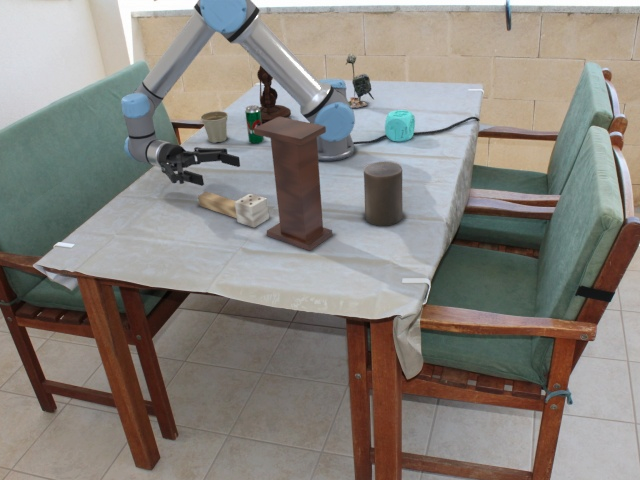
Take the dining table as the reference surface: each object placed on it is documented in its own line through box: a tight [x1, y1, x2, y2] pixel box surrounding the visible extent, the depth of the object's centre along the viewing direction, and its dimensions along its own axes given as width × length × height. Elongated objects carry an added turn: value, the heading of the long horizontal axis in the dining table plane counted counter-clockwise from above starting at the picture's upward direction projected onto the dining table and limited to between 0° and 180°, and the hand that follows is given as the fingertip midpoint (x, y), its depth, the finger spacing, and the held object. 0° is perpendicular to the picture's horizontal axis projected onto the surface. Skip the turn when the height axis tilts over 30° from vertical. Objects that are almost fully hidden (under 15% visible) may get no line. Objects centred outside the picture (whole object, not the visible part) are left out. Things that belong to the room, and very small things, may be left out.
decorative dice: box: [384, 109, 416, 142], centre depth 212 cm, size 8×8×8 cm
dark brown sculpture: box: [256, 64, 292, 123], centre depth 233 cm, size 15×15×20 cm
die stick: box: [197, 191, 270, 229], centre depth 174 cm, size 22×6×6 cm, turn 52°
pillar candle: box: [363, 161, 404, 227], centre depth 164 cm, size 10×10×15 cm
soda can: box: [244, 104, 265, 145], centre depth 216 cm, size 5×5×12 cm
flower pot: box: [199, 110, 229, 144], centre depth 221 cm, size 9×9×9 cm
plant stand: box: [254, 117, 333, 252], centre depth 155 cm, size 14×9×28 cm, turn 52°
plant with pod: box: [345, 52, 375, 109], centre depth 239 cm, size 8×11×20 cm
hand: (221, 171), depth 170 cm, fingers open, 13 cm apart
